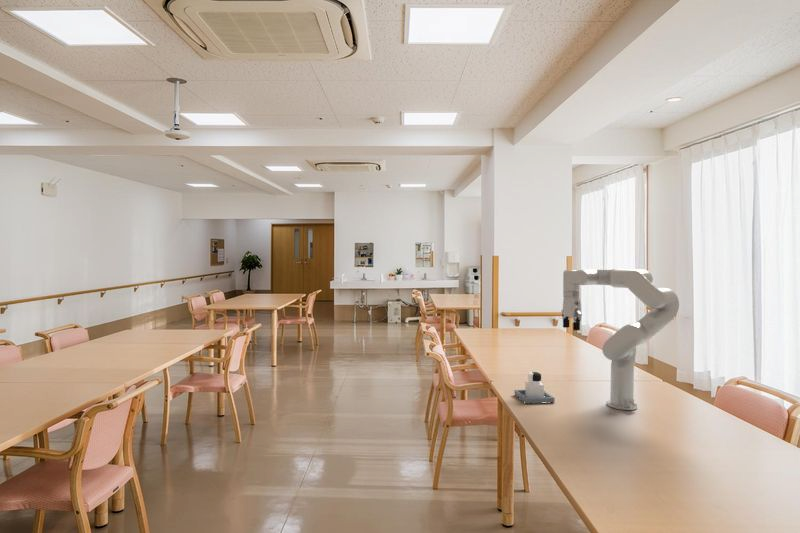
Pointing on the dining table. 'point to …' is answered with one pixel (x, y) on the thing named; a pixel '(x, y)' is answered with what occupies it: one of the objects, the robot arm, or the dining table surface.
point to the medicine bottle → (534, 386)
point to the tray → (533, 400)
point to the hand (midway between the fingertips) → (571, 328)
